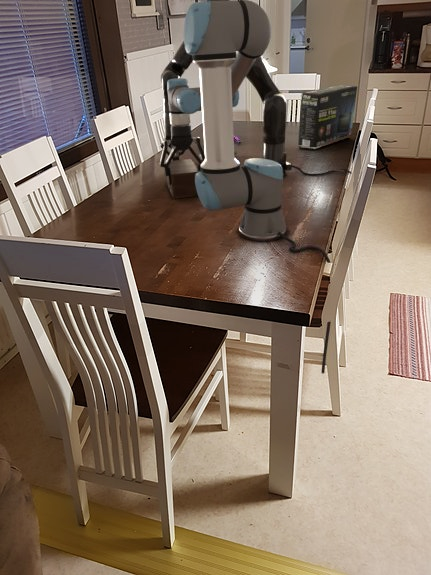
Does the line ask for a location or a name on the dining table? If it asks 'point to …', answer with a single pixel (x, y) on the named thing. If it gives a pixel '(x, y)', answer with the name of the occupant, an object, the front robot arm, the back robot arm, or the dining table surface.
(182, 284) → the dining table surface
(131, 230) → the dining table surface
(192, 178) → the taupe rectangular block
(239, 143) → the handgun
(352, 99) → the router box
